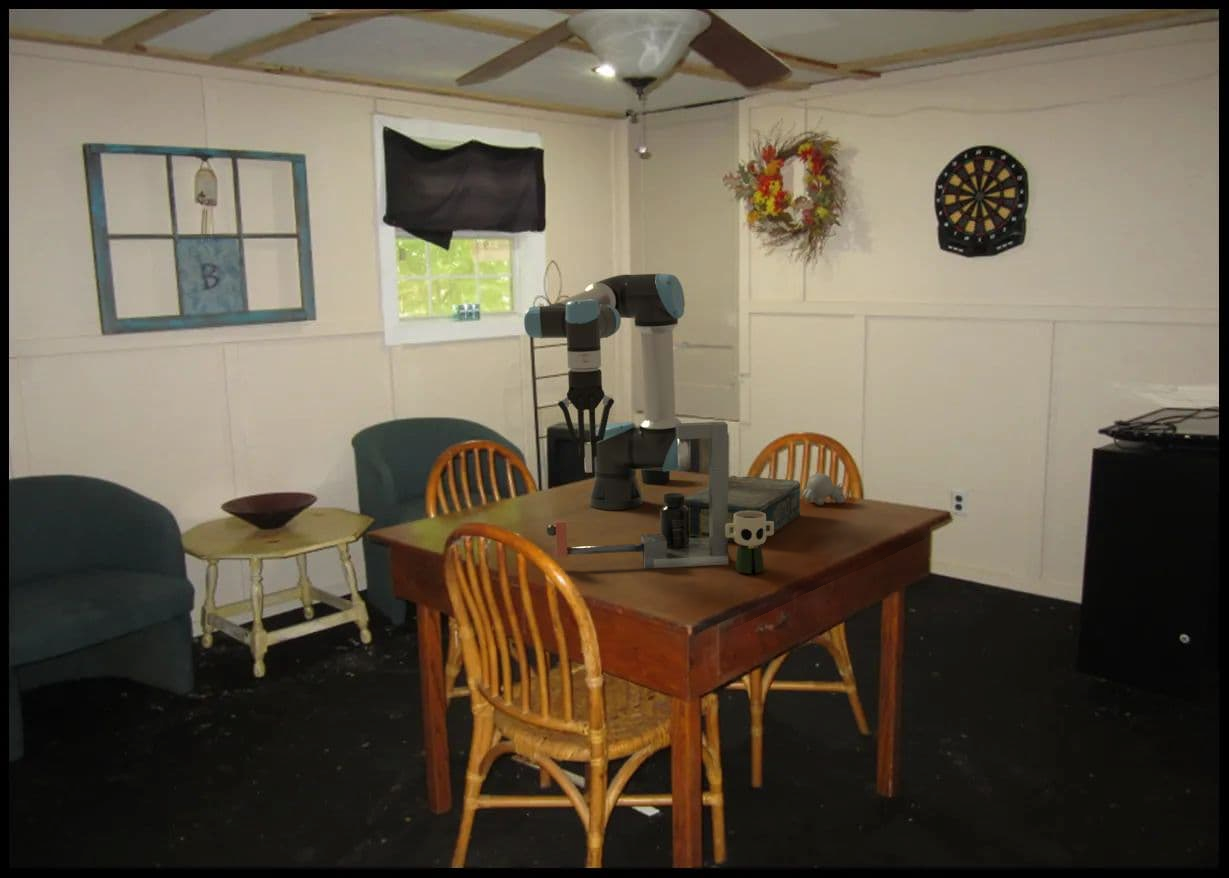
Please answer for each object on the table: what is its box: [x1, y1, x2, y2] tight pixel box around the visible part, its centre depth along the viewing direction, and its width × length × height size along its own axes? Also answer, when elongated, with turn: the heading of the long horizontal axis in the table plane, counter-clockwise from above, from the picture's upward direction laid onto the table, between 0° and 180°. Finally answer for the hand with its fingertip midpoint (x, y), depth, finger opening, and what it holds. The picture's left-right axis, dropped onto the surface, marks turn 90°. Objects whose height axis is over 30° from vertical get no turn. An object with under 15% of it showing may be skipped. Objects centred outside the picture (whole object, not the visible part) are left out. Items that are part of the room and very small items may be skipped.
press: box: [640, 421, 729, 569], centre depth 229 cm, size 16×19×32 cm
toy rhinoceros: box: [801, 472, 848, 506], centre depth 279 cm, size 7×12×8 cm, turn 90°
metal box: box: [684, 475, 801, 543], centre depth 257 cm, size 21×32×10 cm, turn 151°
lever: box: [545, 519, 644, 558], centre depth 224 cm, size 3×24×8 cm, turn 96°
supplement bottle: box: [659, 492, 690, 548], centre depth 234 cm, size 7×7×12 cm
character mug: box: [725, 511, 775, 574], centre depth 218 cm, size 11×7×13 cm, turn 98°
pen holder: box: [640, 470, 671, 485], centre depth 311 cm, size 9×9×10 cm
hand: (588, 471), depth 229 cm, fingers closed
